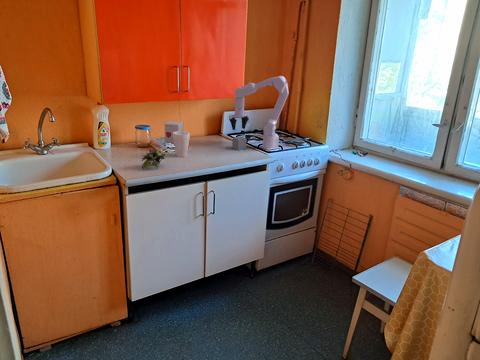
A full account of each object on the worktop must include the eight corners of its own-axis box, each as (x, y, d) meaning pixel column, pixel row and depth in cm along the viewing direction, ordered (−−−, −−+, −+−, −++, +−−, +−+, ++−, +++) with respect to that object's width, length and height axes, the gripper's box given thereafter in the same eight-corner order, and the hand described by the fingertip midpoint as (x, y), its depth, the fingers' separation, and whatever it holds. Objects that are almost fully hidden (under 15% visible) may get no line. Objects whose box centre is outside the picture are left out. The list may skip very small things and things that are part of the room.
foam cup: (169, 155, 213) (169, 133, 209) (179, 152, 221) (179, 130, 217) (183, 158, 209) (183, 135, 205) (193, 154, 217) (193, 132, 213)
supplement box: (164, 147, 228) (163, 123, 223) (170, 144, 237) (169, 120, 231) (178, 149, 227) (178, 124, 221) (184, 145, 235) (183, 121, 230)
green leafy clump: (153, 174, 199) (164, 154, 201) (161, 177, 190) (172, 156, 192) (135, 165, 193) (146, 144, 195) (142, 167, 184) (153, 145, 186)
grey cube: (240, 146, 238) (240, 136, 236) (245, 148, 234) (246, 138, 232) (232, 147, 235) (232, 137, 233) (238, 150, 230) (238, 139, 228)
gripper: (244, 105, 242) (243, 126, 247) (226, 107, 234) (225, 129, 238) (251, 107, 237) (250, 129, 242) (232, 109, 229) (232, 131, 233)
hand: (238, 129), depth 240 cm, fingers open, 7 cm apart
